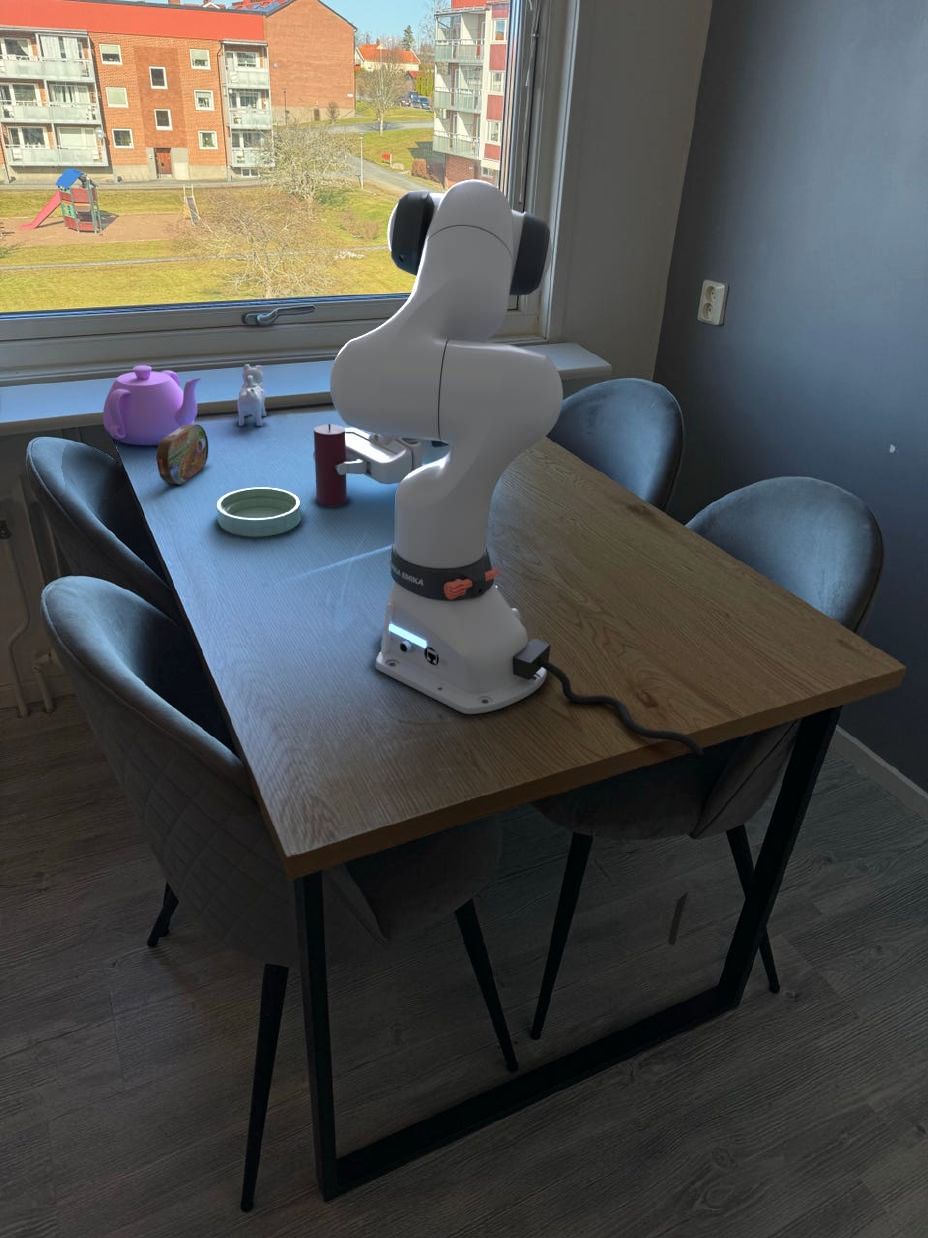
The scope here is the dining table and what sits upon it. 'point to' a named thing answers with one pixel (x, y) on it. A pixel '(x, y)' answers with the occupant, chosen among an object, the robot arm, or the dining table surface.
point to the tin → (182, 454)
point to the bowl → (258, 511)
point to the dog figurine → (251, 395)
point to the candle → (329, 464)
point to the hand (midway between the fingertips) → (326, 463)
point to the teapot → (148, 406)
